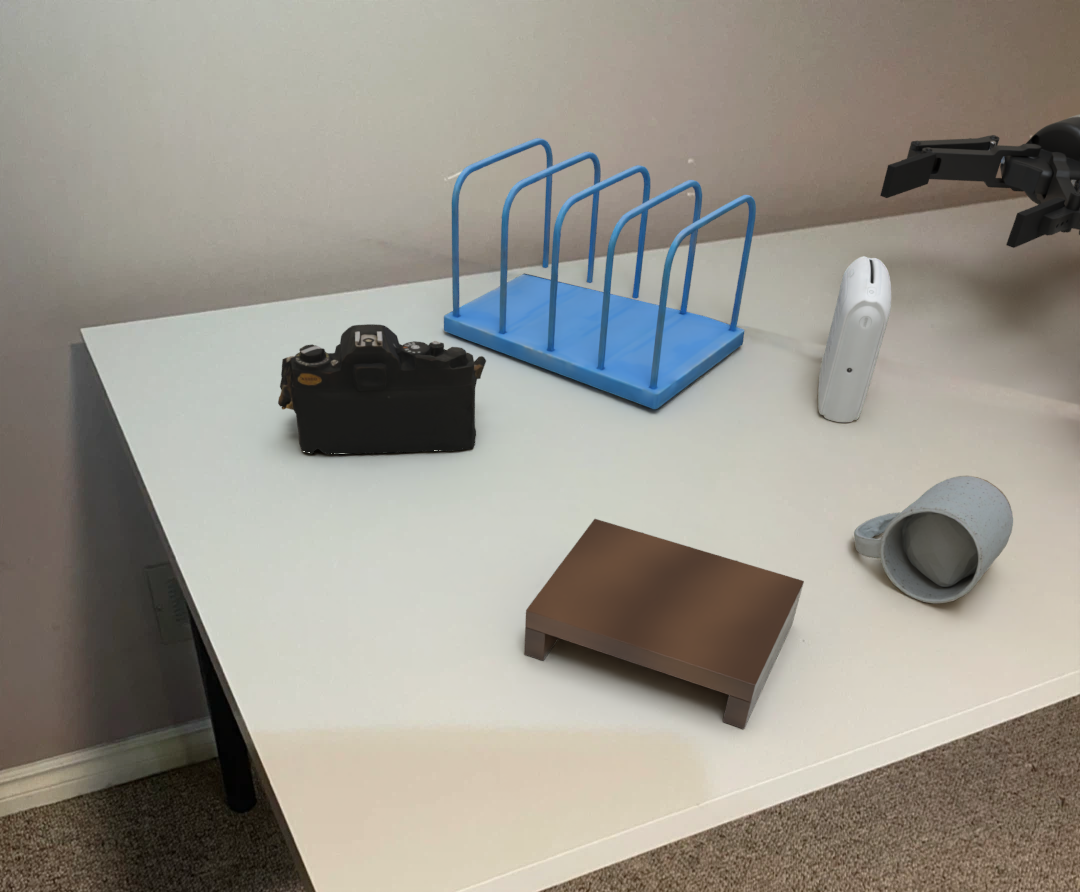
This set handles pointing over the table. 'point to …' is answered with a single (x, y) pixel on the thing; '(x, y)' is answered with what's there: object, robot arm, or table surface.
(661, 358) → the file sorter
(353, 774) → the table surface
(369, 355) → the film camera
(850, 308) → the photo printer
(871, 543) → the ceramic mug
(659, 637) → the shelf
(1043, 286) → the table surface
